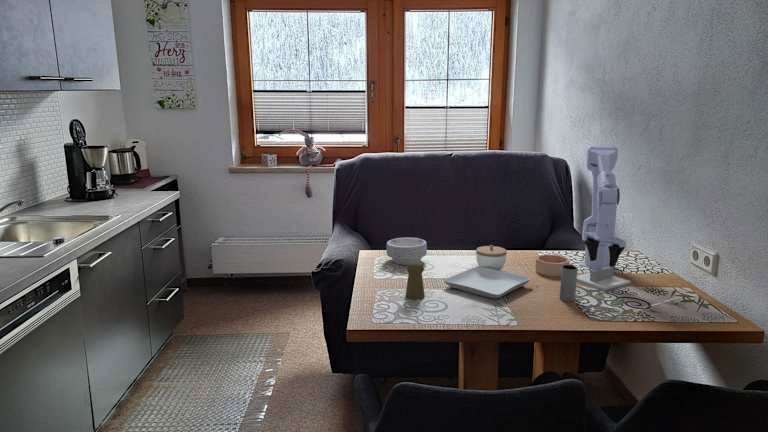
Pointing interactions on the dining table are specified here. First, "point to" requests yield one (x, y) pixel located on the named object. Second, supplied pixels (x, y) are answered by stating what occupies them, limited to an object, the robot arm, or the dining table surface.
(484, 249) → the lidded jar
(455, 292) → the dining table surface
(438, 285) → the dining table surface
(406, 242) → the grey round bowl
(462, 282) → the salad plate
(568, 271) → the planter
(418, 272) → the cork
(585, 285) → the mat
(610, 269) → the cover
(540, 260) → the bowl
